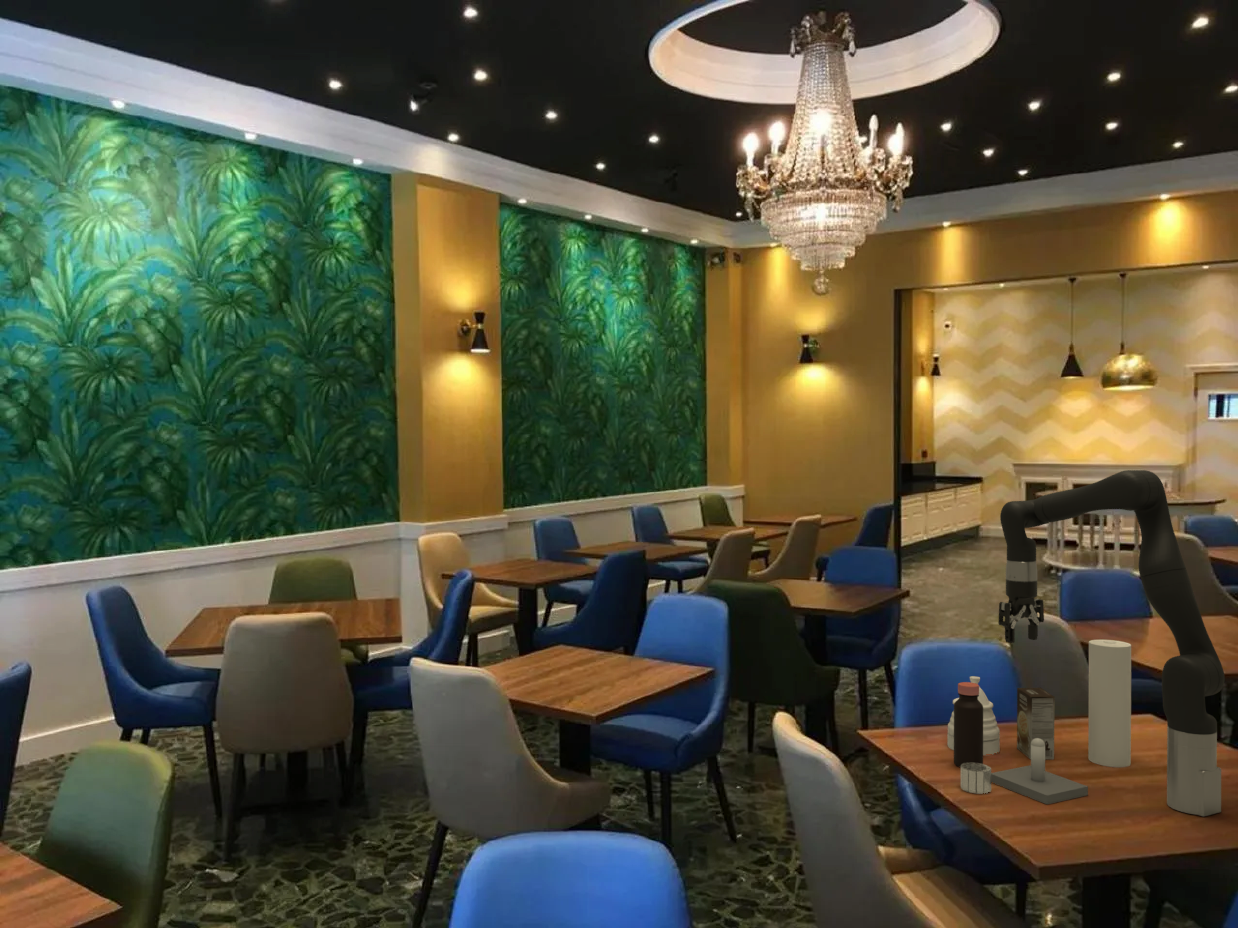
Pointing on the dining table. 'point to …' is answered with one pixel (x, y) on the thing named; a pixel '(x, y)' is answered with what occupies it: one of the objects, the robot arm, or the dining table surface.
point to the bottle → (968, 725)
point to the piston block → (1039, 779)
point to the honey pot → (989, 724)
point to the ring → (975, 778)
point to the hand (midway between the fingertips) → (1021, 640)
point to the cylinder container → (1109, 703)
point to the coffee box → (1035, 720)
